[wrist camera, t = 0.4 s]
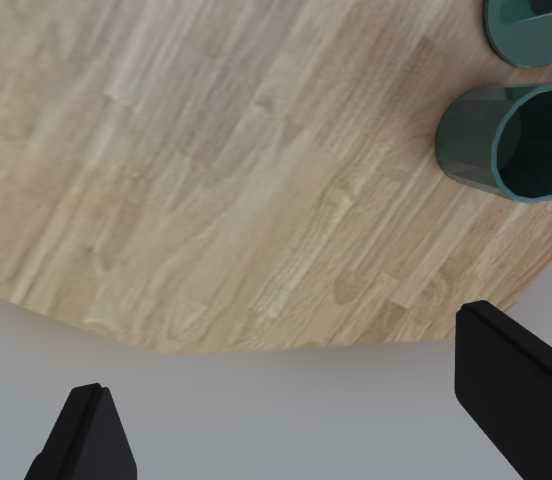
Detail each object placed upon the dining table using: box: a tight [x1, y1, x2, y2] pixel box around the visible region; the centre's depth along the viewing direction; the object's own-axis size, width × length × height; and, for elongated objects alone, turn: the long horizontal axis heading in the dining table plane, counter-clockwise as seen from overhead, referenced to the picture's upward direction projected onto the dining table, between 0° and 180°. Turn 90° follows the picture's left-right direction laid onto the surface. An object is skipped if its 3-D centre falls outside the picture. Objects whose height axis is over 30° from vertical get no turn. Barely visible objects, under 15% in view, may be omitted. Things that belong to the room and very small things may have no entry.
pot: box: [435, 82, 552, 204], centre depth 42 cm, size 11×11×10 cm
